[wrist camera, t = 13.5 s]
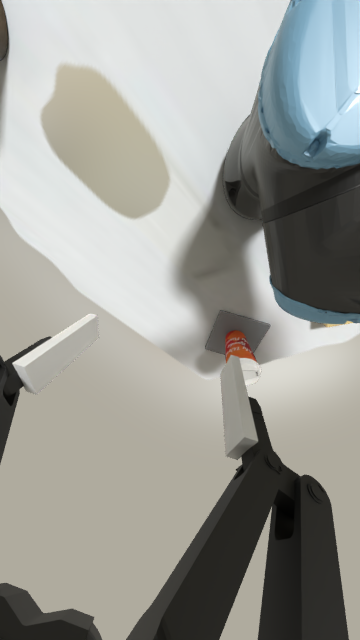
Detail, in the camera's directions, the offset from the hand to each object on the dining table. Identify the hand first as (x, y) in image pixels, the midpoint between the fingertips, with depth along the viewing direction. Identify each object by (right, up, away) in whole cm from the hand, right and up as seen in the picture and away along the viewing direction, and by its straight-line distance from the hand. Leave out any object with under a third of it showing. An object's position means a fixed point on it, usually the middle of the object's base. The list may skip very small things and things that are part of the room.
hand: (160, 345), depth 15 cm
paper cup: (+18, -3, +30) cm, 36 cm away
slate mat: (+18, -3, +31) cm, 36 cm away
